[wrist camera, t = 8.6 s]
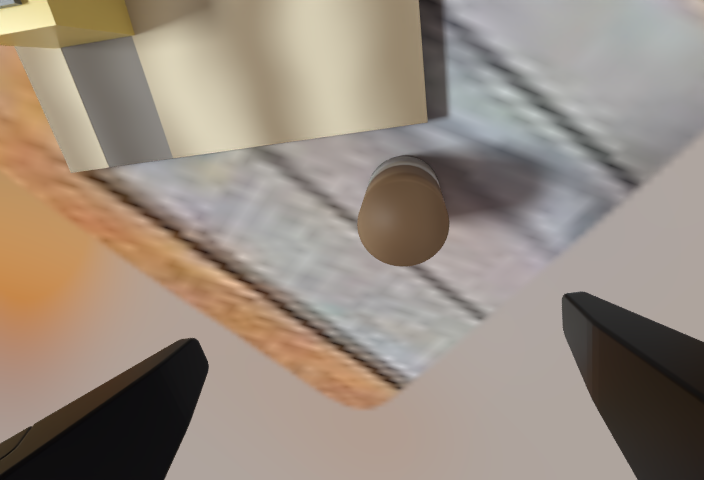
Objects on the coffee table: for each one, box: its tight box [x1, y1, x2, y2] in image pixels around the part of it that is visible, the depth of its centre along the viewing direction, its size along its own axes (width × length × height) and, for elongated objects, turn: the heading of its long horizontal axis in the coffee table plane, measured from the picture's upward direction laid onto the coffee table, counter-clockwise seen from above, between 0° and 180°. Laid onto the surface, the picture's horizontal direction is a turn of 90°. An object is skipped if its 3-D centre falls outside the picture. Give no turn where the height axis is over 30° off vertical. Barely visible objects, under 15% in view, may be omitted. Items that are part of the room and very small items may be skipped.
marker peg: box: [357, 156, 449, 266], centre depth 18 cm, size 4×4×5 cm
